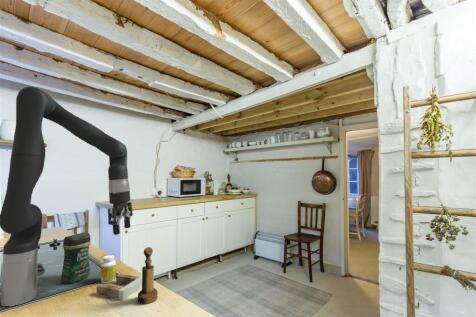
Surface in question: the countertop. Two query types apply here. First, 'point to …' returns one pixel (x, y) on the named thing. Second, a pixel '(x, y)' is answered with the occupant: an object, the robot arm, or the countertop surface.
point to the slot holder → (118, 292)
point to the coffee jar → (76, 257)
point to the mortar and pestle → (147, 280)
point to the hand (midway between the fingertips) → (122, 231)
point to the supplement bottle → (108, 269)
